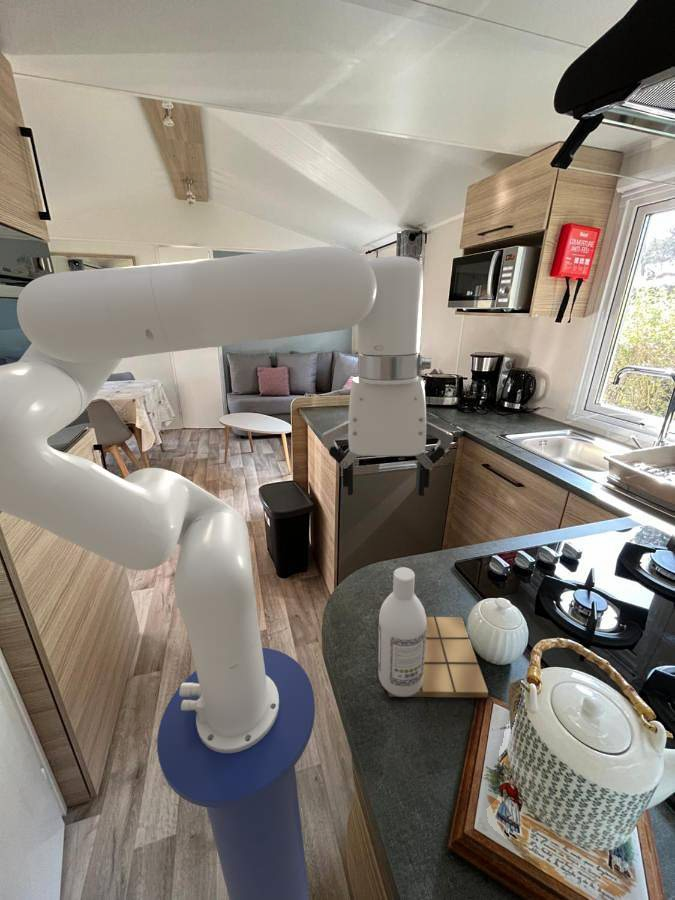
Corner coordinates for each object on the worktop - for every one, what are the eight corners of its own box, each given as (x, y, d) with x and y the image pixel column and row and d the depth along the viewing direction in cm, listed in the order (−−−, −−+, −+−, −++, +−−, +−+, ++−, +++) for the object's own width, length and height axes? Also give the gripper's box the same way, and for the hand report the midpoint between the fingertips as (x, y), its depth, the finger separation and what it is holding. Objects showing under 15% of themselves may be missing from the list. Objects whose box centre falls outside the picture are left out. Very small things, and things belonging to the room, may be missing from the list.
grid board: (388, 696, 58) (388, 690, 58) (381, 621, 72) (381, 616, 72) (487, 697, 58) (488, 691, 57) (461, 621, 72) (461, 616, 71)
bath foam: (432, 681, 59) (440, 576, 52) (399, 707, 55) (403, 598, 48) (401, 651, 64) (404, 552, 57) (369, 673, 61) (369, 570, 54)
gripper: (452, 363, 50) (442, 480, 56) (322, 364, 52) (326, 479, 57) (466, 371, 43) (453, 505, 49) (315, 373, 45) (320, 503, 50)
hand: (385, 491), depth 53 cm, fingers open, 9 cm apart
